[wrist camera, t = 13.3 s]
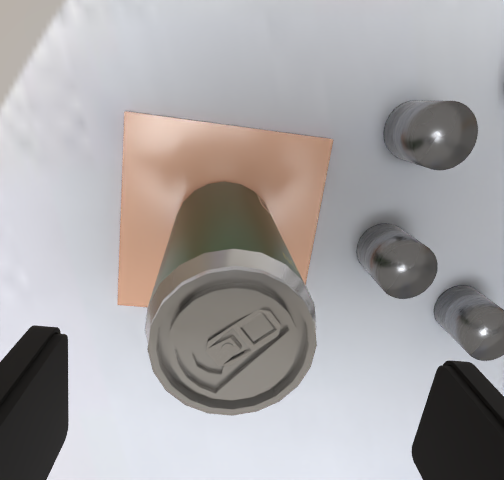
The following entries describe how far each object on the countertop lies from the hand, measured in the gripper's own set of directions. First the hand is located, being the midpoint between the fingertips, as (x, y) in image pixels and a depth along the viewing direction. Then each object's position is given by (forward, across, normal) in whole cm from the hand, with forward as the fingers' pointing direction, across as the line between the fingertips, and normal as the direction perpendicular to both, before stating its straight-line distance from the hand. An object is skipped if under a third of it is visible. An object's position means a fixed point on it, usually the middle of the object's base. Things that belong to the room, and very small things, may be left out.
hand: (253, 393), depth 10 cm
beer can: (+14, +1, 0) cm, 14 cm away
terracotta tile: (+14, +1, 0) cm, 14 cm away
